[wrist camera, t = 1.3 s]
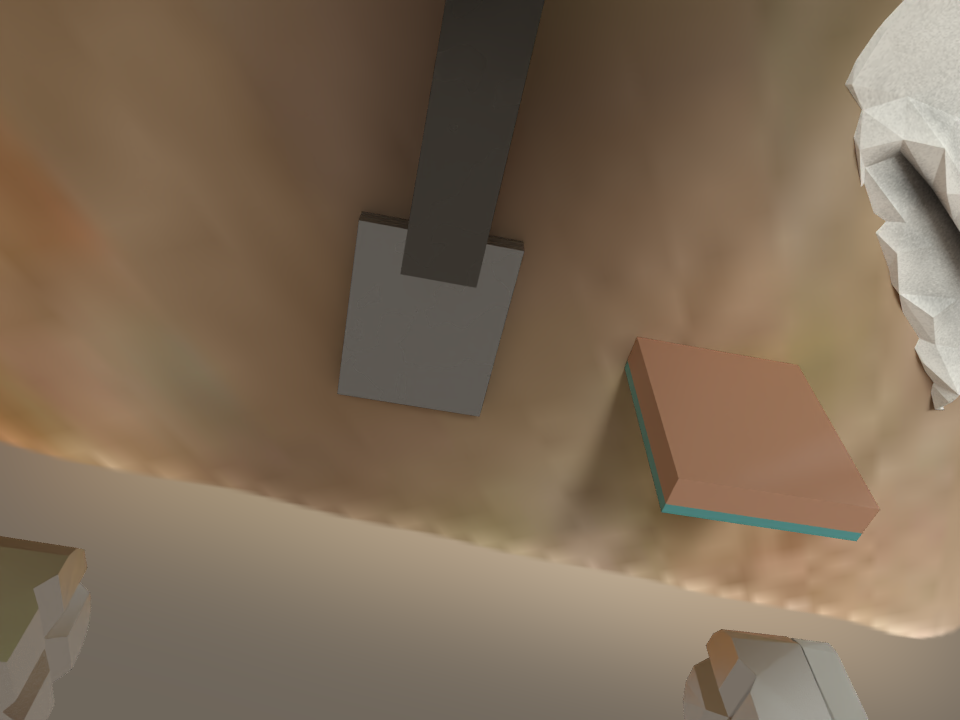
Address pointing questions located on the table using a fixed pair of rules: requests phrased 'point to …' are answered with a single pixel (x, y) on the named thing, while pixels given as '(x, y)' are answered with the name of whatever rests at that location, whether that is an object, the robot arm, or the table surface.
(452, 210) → the turner
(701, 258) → the table surface
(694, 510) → the tile
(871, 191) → the cloth
